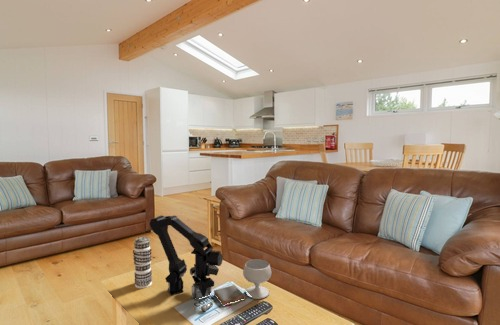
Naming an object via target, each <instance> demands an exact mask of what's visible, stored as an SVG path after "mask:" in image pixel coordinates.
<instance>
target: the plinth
mask: <svg viewBox="0 0 500 325" xmlns="http://www.w3.org/2000/svg"><path fill="white" fill-rule="evenodd" d="M213 293H214V294H215V295H216V296H217V297H218V299H219V300H220V301H221V303H222V304H223V305H225V304H227V303H230V302H235V301H238V300H241V299H244V298H245V295H246V294H244V293H243V292H242V291H241V290H240V289H239V288H238V287H237V286H236V285H235V284H233V285H229V286H225V287H222V288H218V289H215V290H214V291H213ZM214 294H213V295H214ZM218 299H217V300H218ZM245 299H246V298H245ZM221 303H220V304H221ZM222 304H221V305H222Z"/></svg>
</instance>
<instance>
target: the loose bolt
mask: <svg viewBox="0 0 500 325" xmlns="http://www.w3.org/2000/svg"><path fill="white" fill-rule="evenodd" d="M211 305H212V306H213V302H212V301H210V302H209V303H207V304H206V305H205V304H203V305H201V307H200V310H201V311H202V312H203V311H205V312H206V311H207V310H208V309H210V308H211V307H212V306H211ZM210 306H211V307H210ZM209 307H210V308H209Z"/></svg>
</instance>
